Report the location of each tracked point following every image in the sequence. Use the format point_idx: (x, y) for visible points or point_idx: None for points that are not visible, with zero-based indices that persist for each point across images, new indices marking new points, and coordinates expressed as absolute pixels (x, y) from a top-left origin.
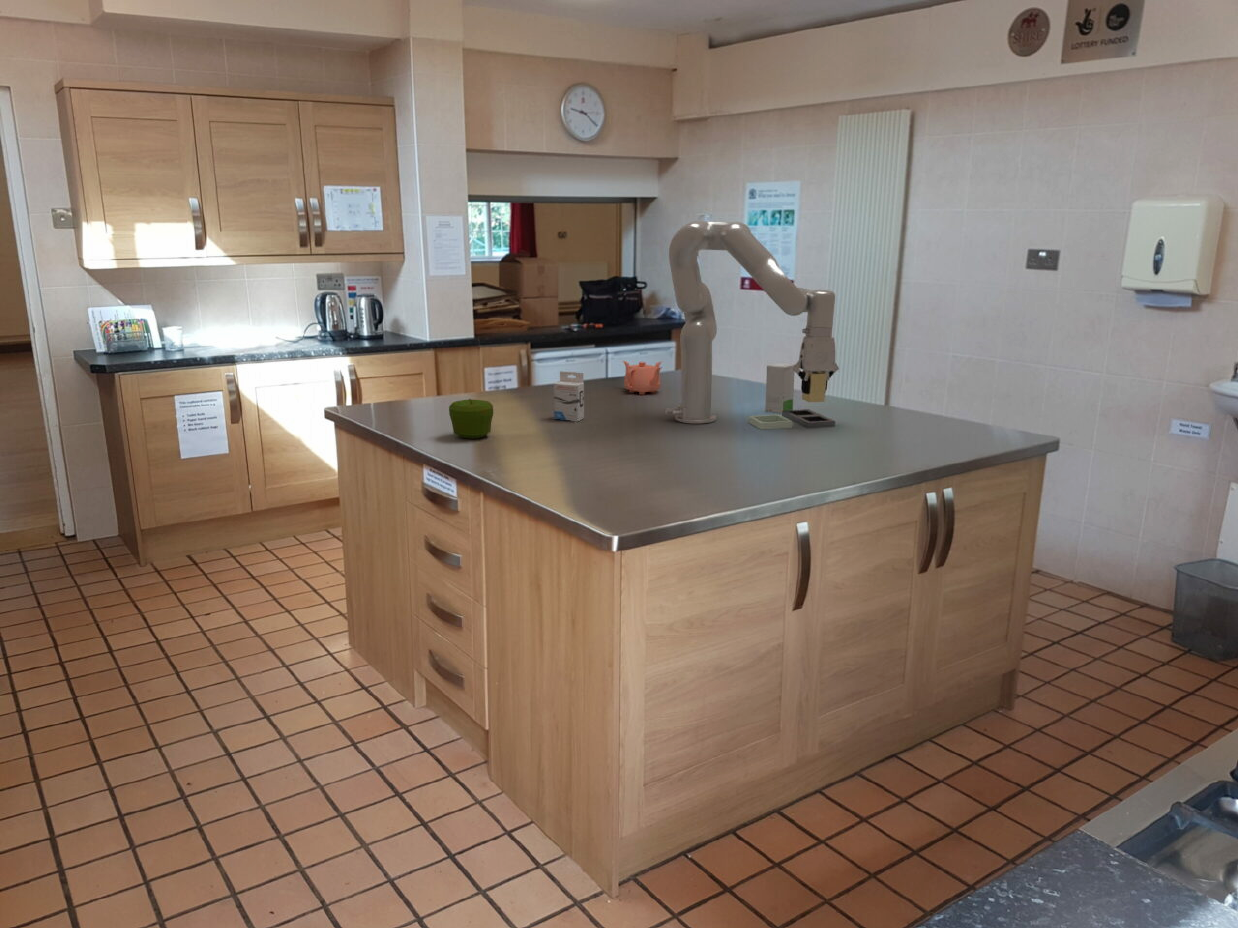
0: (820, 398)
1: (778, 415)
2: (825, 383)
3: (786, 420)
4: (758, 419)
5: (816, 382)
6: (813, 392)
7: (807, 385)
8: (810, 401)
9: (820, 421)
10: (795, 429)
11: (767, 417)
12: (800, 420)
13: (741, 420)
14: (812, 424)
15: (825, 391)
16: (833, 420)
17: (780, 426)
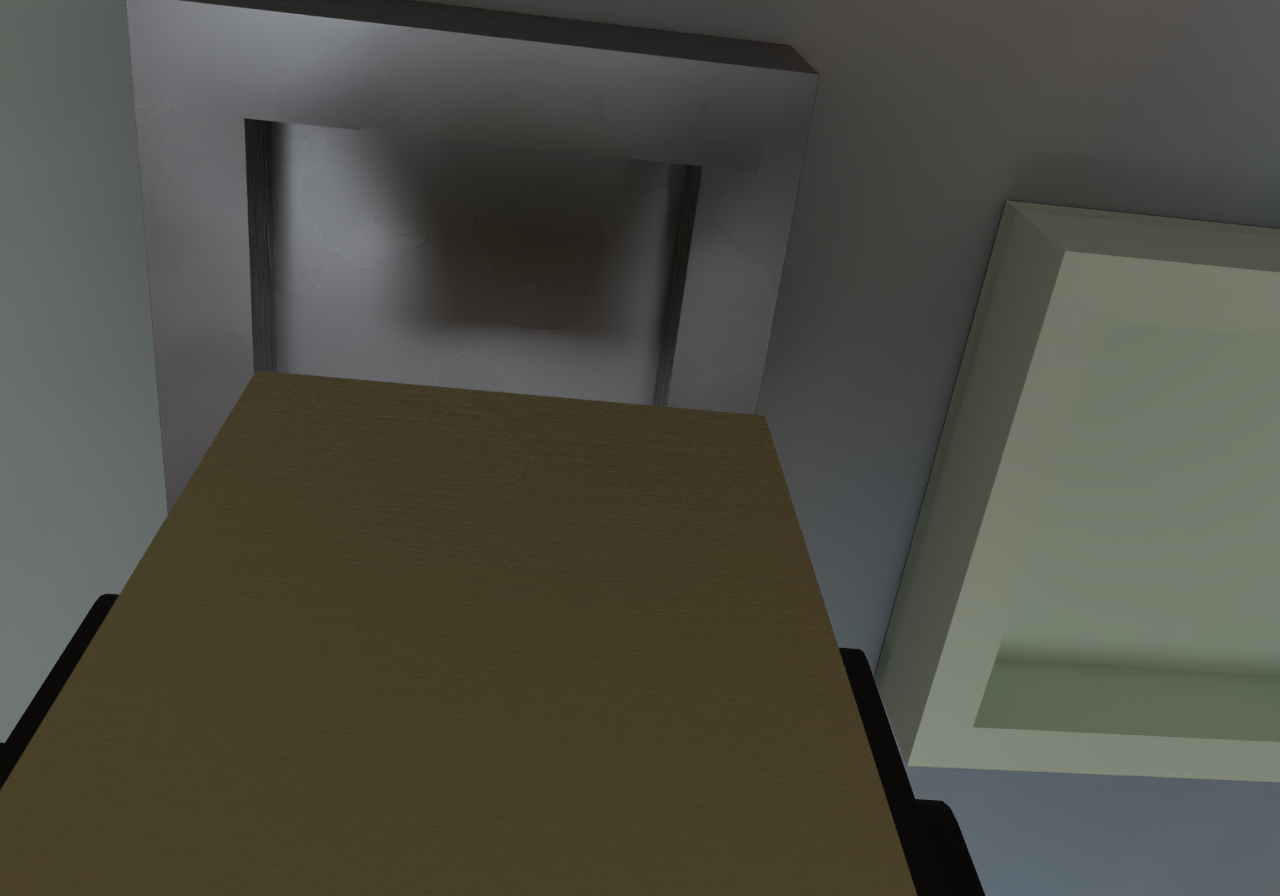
0: (382, 437)
1: (964, 705)
2: (35, 790)
3: (1083, 381)
4: (1251, 708)
5: (579, 879)
6: (673, 572)
7: (922, 871)
8: (724, 426)
9: (480, 94)
10: (947, 186)
11: (1119, 716)
12: (756, 388)
13: (1226, 882)
14: (702, 52)
15: (91, 630)
16: (138, 74)
17: (1260, 246)
